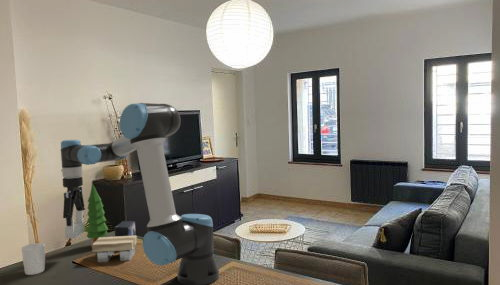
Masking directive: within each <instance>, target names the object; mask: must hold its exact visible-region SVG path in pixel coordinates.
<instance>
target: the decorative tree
mask: <svg viewBox="0 0 500 285" xmlns="http://www.w3.org/2000/svg"><path fill="white" fill-rule="evenodd" d="M87 199H88V200H87V202H88V206H87V209H88V211H87V214H86V215H87V216H88V218H87V221H86V223H87V224H88V225H87V228H86V229H85V231H86V232H87V234H86V237H87V238H88V239H93V240H92V244H93V243H94V242H95V241H96V240H97V239H98V238H99V237H107V235H108V234H109V233H108V230H109V227H108V226H107V224H106V222H107V219H106V217H105V213H106V212H105V210H104V208H103V207H104V204H103V202H102V198H101V197H100V195H99V193H98V191H97V189H96V187H95V185H94V184H93V182H92V184H91V189H90V193H89V197H88V198H87ZM91 249H92V245H91Z"/></svg>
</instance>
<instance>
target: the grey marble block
mask: <svg viewBox="0 0 500 285" xmlns="http://www.w3.org/2000/svg"><path fill="white" fill-rule="evenodd" d="M85 224H86V222H85V221H83V222H76V221H75V222H74V233H71V234H67V230H66V228H65V229H64V231H65V233H64V234H65V239H67V240H68V239H77V238H78V237H79V236H80V235H82V234H83V233H85V231H86V227H85V226H86V225H85Z"/></svg>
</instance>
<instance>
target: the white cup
mask: <svg viewBox="0 0 500 285" xmlns="http://www.w3.org/2000/svg"><path fill="white" fill-rule="evenodd" d="M21 254H22V262H23V268H24V270H23V271H24V274H25V275H27V276H32V275H38V274H41V273H42V272H44V271H45V270H46V269H45V268H46V244H45V243H42V242H39V243H37V242H36V243H29V244H27V245H24V246H22V247H21Z"/></svg>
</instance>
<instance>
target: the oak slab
mask: <svg viewBox="0 0 500 285" xmlns="http://www.w3.org/2000/svg"><path fill="white" fill-rule="evenodd" d="M137 243H138V235H136V234H135V236H115V235H114V236H104V237H99V238H98V239H97V240H96V241H95V242H94V243H93V242H92V244H91V246H92V248H91V252H92V253H98V252H103V251H114V252H120V251H122V250H132V249H133V248H134V246H135V247H136V245H137Z"/></svg>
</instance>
